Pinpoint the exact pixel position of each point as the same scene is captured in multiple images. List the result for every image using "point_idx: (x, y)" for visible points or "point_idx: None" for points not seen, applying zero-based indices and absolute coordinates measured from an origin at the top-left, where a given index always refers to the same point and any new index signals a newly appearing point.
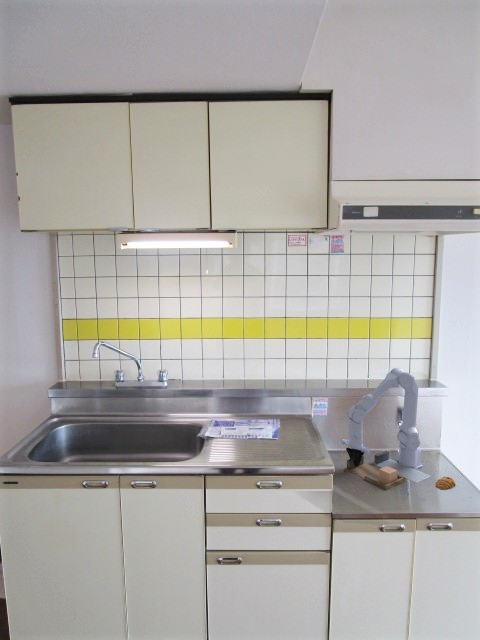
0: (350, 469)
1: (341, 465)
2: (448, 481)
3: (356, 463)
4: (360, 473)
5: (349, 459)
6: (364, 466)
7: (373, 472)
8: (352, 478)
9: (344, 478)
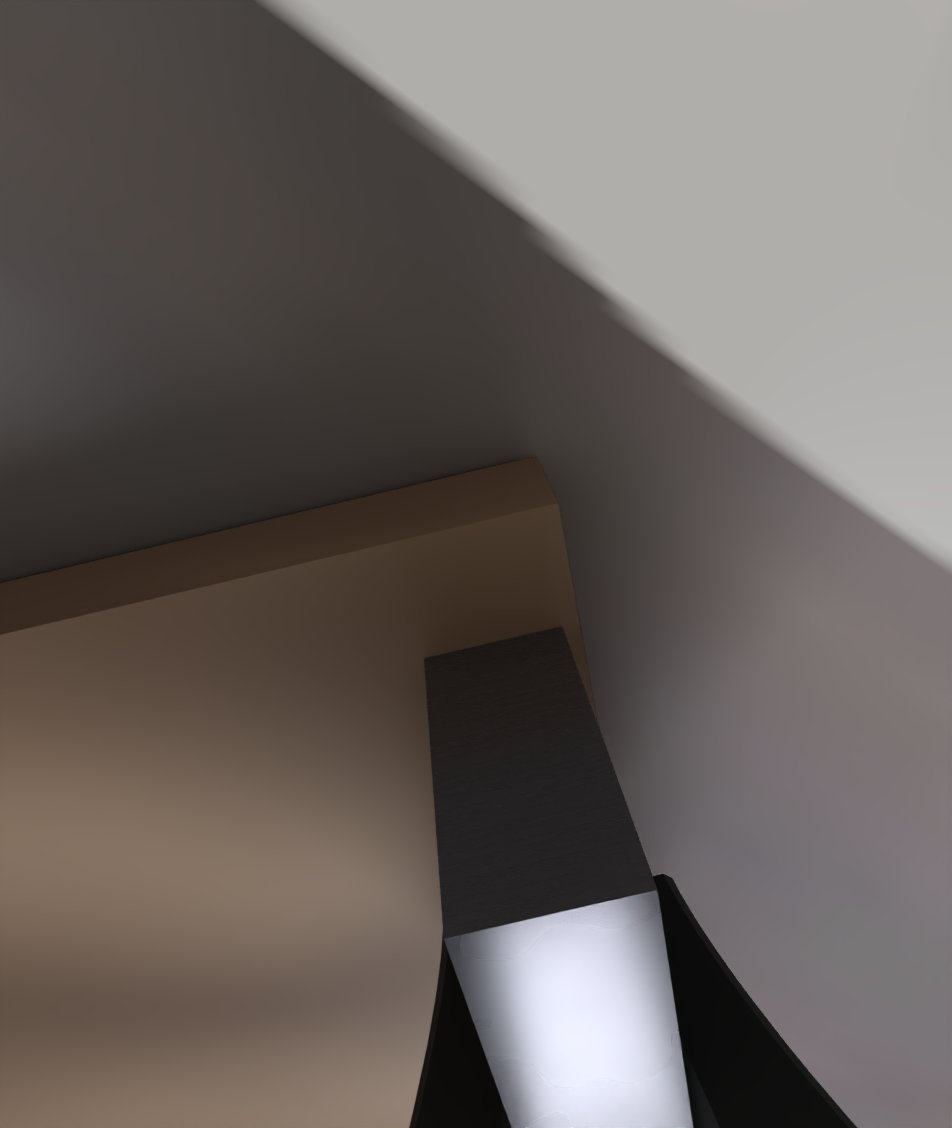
0: (415, 686)
1: (934, 629)
2: None
3: (431, 1032)
4: (27, 819)
5: (660, 1013)
6: None
7: (22, 1099)
8: (12, 467)
9: (68, 167)
